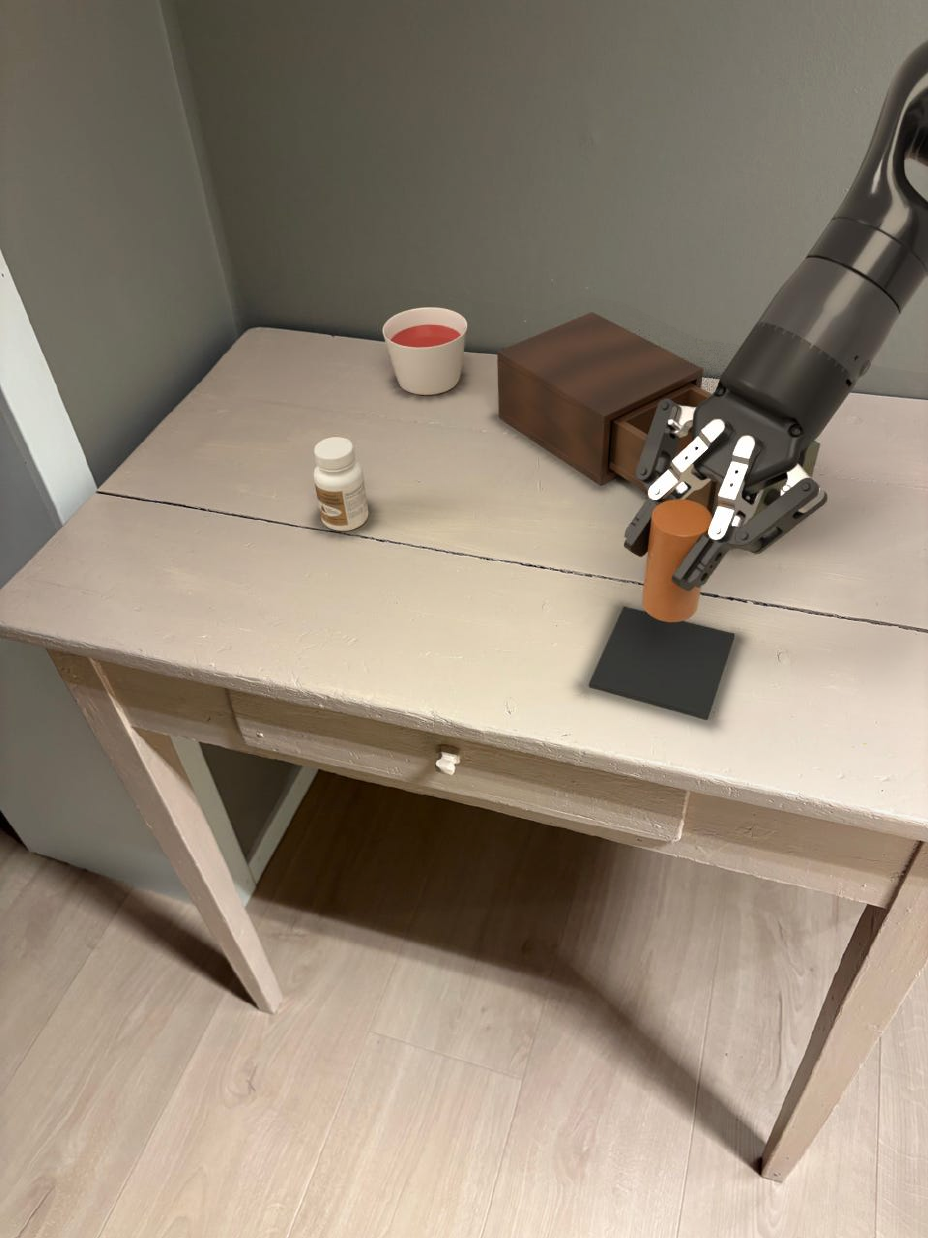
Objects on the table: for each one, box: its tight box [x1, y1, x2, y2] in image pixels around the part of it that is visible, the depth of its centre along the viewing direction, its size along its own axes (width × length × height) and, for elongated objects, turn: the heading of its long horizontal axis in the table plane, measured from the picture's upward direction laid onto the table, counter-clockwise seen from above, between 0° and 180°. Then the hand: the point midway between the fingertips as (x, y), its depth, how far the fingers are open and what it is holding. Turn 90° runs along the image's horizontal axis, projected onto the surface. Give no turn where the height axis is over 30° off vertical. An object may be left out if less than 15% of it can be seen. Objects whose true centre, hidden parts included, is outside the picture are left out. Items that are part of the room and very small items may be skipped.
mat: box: [588, 605, 736, 720], centre depth 74 cm, size 9×9×1 cm
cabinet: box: [496, 311, 704, 486], centre depth 95 cm, size 16×13×8 cm
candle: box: [382, 306, 468, 396], centre depth 104 cm, size 9×9×6 cm
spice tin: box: [641, 499, 712, 622], centre depth 67 cm, size 4×4×8 cm
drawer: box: [610, 383, 821, 522], centre depth 86 cm, size 16×11×6 cm
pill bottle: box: [312, 436, 369, 532], centre depth 86 cm, size 4×4×8 cm
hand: (656, 568), depth 66 cm, fingers closed on spice tin, 4 cm apart
